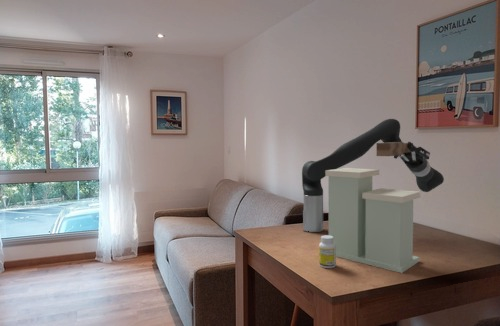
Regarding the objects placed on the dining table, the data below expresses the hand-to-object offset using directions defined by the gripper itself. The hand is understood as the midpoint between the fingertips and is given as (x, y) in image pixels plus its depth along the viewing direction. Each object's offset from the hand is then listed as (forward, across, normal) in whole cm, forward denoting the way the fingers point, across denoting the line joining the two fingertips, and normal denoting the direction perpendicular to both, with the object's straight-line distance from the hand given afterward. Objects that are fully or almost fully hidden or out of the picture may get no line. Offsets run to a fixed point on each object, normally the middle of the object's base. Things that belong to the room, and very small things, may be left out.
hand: (403, 144), depth 133 cm
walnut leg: (+4, 0, +6) cm, 7 cm away
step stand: (-10, -7, +42) cm, 44 cm away
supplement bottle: (+5, -14, +51) cm, 53 cm away
